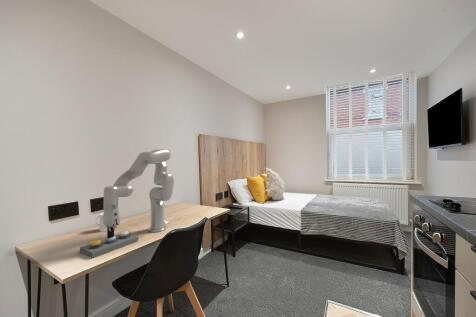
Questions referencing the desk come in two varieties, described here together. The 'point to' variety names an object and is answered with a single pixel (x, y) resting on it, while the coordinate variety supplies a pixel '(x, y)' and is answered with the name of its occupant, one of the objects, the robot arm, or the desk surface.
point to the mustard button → (96, 242)
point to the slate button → (111, 239)
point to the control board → (108, 246)
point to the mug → (101, 223)
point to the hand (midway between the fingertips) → (110, 237)
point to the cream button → (124, 233)
